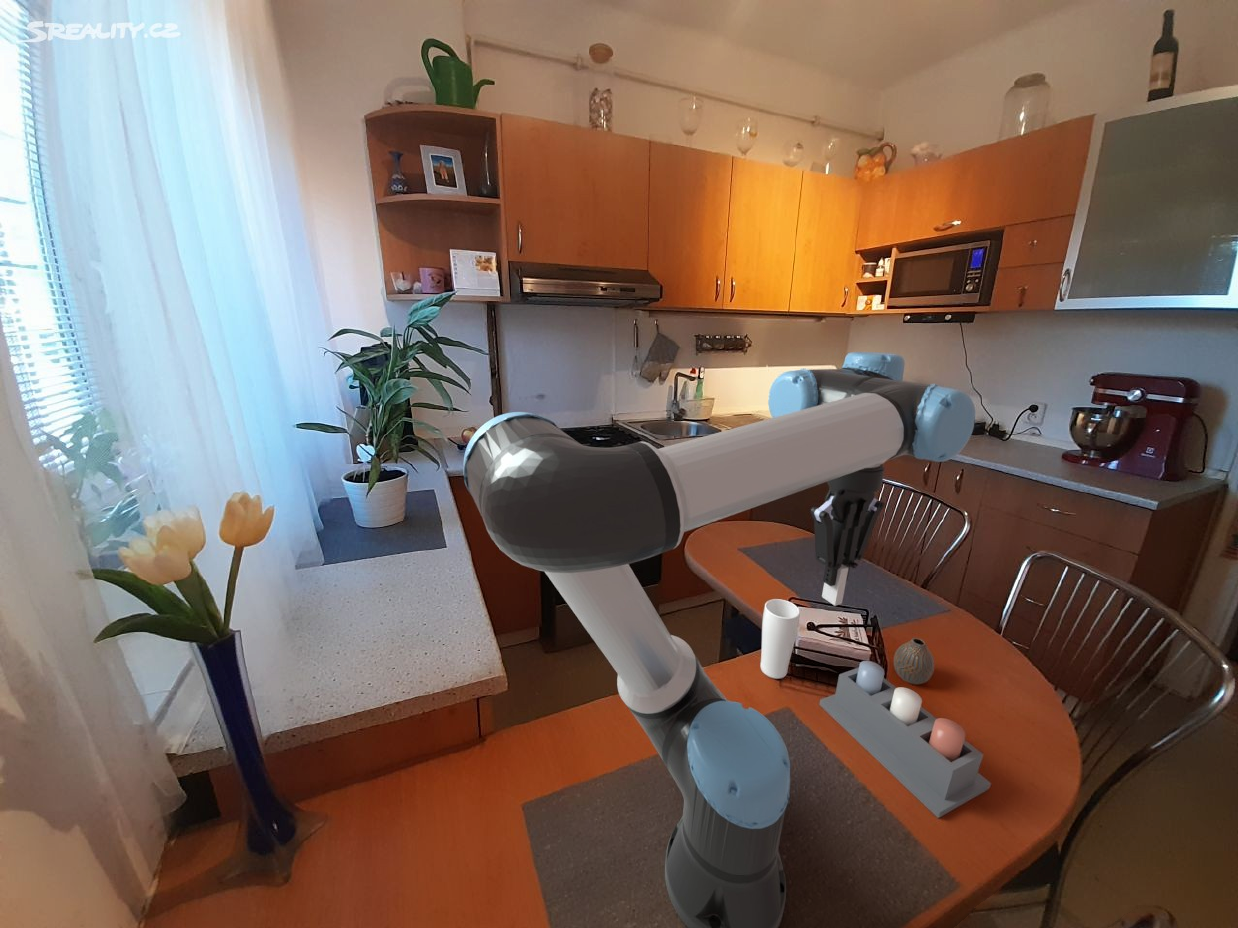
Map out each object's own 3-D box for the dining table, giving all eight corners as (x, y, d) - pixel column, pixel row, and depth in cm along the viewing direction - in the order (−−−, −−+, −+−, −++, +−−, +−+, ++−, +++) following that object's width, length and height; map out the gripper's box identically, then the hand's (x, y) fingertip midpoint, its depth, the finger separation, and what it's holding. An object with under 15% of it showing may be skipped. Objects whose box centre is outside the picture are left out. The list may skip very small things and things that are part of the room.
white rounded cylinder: (902, 742, 79) (910, 708, 77) (881, 723, 83) (888, 691, 81) (918, 734, 81) (927, 701, 79) (897, 716, 84) (905, 684, 82)
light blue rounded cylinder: (866, 711, 85) (873, 679, 83) (848, 695, 89) (854, 664, 87) (882, 704, 87) (889, 672, 85) (863, 689, 90) (870, 658, 88)
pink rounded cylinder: (943, 778, 73) (954, 742, 71) (919, 757, 77) (928, 722, 74) (960, 769, 75) (971, 734, 72) (935, 748, 78) (945, 714, 76)
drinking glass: (795, 683, 95) (805, 619, 91) (761, 682, 96) (769, 618, 91) (784, 659, 102) (793, 598, 97) (752, 658, 102) (760, 597, 98)
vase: (927, 695, 93) (937, 658, 91) (888, 679, 97) (896, 643, 94) (931, 675, 98) (941, 639, 96) (893, 660, 102) (901, 626, 100)
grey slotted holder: (938, 818, 70) (949, 782, 68) (819, 704, 90) (824, 674, 88) (989, 788, 75) (1000, 754, 73) (865, 686, 95) (871, 657, 93)
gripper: (844, 473, 64) (818, 622, 71) (911, 463, 69) (880, 604, 76) (803, 457, 71) (783, 596, 78) (867, 449, 76) (842, 580, 83)
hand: (831, 600), depth 77 cm, fingers closed
